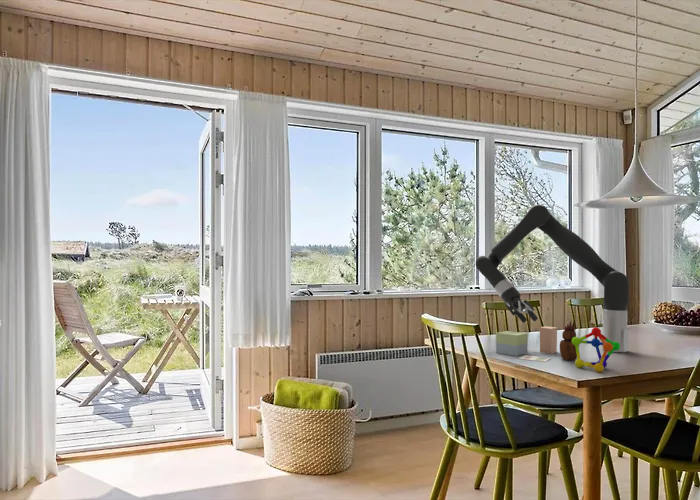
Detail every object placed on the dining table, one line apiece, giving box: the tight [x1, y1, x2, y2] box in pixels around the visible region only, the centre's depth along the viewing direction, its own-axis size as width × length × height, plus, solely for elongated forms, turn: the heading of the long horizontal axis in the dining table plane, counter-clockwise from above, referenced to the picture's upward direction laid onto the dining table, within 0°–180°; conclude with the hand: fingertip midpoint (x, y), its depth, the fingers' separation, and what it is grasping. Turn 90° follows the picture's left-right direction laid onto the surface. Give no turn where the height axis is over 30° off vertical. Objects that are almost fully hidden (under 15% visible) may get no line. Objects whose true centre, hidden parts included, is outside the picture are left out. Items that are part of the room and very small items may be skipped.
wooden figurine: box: [559, 320, 580, 362], centre depth 212 cm, size 7×6×15 cm
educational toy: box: [572, 326, 620, 373], centre depth 196 cm, size 16×13×15 cm
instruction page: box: [518, 354, 552, 363], centre depth 213 cm, size 10×8×1 cm
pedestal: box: [495, 330, 529, 357], centre depth 224 cm, size 9×9×8 cm
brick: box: [539, 325, 558, 354], centre depth 228 cm, size 5×5×10 cm
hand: (530, 320), depth 235 cm, fingers open, 8 cm apart
